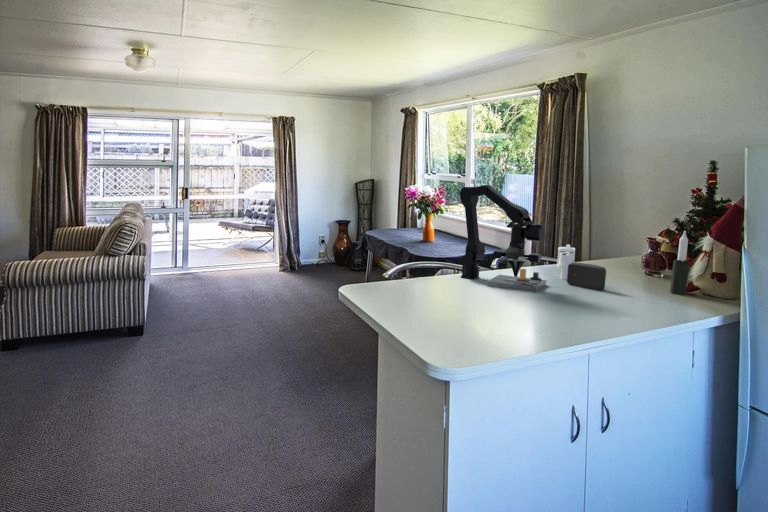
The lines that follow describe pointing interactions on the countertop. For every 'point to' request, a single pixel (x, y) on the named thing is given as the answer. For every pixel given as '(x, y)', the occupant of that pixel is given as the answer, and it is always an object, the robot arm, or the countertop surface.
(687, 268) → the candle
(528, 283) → the breaker panel
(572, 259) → the white stepped cylinder
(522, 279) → the block
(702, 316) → the countertop surface
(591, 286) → the dark rounded block
